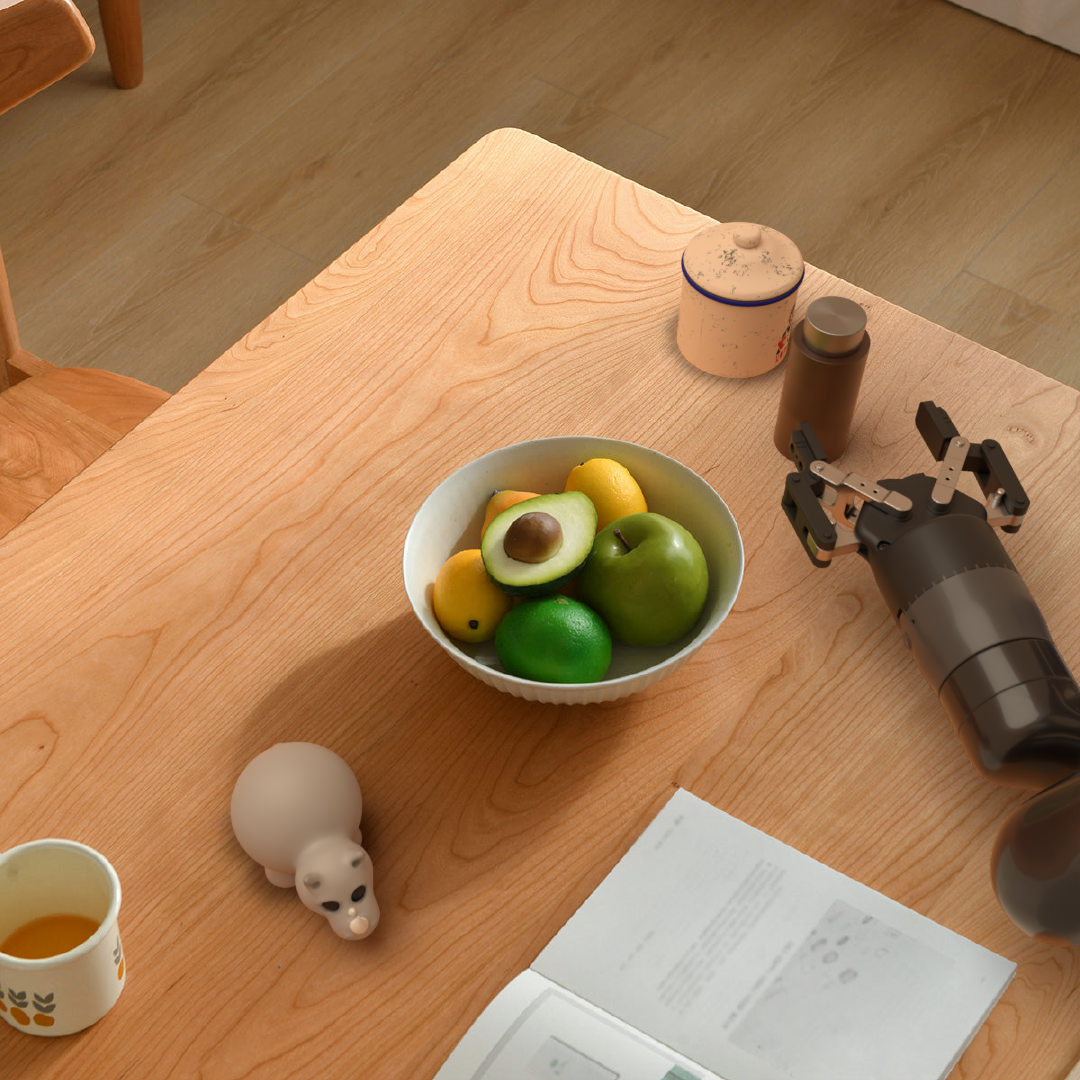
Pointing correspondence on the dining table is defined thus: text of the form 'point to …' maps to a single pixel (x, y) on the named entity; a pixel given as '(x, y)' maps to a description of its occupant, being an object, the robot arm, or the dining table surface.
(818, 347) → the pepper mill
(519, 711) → the dining table surface
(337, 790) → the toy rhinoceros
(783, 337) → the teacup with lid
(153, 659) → the dining table surface
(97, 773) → the dining table surface
